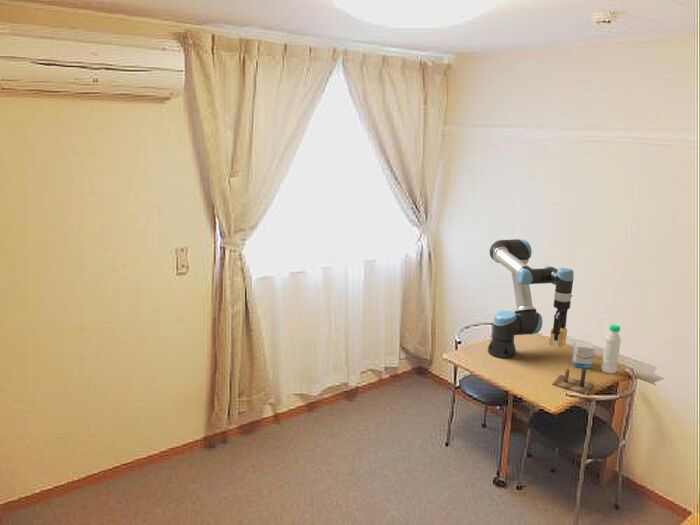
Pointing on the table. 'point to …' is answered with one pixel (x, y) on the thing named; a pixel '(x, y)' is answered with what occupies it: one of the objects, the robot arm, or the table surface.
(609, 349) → the water bottle
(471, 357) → the table surface
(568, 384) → the pigtail board
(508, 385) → the table surface
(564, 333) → the orange rectangular block
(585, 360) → the ink box
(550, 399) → the table surface
